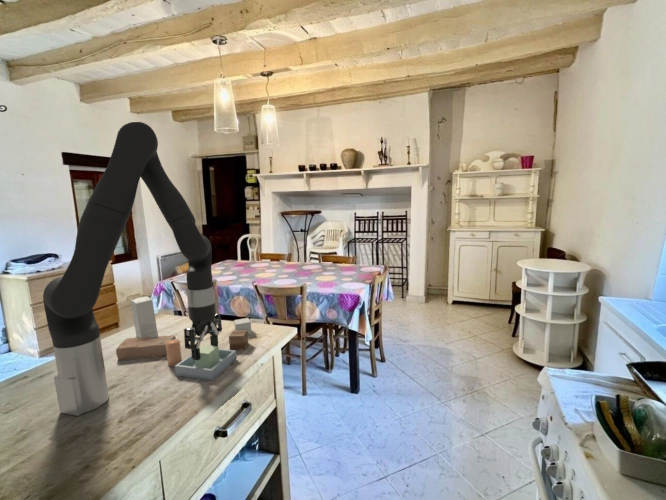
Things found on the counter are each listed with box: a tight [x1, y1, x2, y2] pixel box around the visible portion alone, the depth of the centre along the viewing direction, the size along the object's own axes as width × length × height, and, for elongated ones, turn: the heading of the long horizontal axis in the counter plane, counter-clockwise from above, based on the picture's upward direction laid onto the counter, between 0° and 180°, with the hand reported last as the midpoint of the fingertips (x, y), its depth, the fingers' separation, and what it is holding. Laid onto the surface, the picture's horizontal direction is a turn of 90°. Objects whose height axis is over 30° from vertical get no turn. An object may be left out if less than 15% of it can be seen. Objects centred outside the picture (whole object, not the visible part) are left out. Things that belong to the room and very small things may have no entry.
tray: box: [174, 348, 237, 381], centre depth 100 cm, size 13×13×3 cm
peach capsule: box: [166, 338, 183, 367], centre depth 103 cm, size 4×4×7 cm
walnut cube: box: [228, 329, 249, 351], centre depth 114 cm, size 5×5×5 cm
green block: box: [195, 344, 220, 369], centre depth 100 cm, size 5×5×5 cm
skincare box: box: [130, 295, 159, 338], centre depth 124 cm, size 8×6×15 cm
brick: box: [115, 334, 176, 361], centre depth 111 cm, size 17×8×5 cm, turn 101°
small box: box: [233, 317, 252, 335], centre depth 126 cm, size 6×6×5 cm
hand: (206, 353), depth 100 cm, fingers open, 8 cm apart
